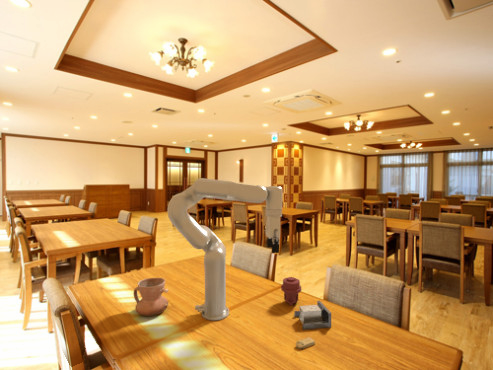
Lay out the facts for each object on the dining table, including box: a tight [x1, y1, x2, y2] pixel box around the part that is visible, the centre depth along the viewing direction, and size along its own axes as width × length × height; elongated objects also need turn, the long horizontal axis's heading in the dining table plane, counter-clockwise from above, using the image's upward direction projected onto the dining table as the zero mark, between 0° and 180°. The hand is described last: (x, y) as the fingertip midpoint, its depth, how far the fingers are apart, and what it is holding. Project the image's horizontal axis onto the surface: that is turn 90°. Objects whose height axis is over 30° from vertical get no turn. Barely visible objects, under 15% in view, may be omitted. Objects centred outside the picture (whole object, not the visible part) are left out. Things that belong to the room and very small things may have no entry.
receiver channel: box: [293, 300, 332, 331], centre depth 116 cm, size 12×11×6 cm
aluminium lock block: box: [299, 304, 322, 324], centre depth 116 cm, size 9×5×6 cm, turn 99°
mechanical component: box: [281, 276, 302, 306], centre depth 133 cm, size 12×10×10 cm
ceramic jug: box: [133, 277, 169, 317], centre depth 125 cm, size 18×14×14 cm
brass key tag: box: [295, 336, 316, 350], centre depth 100 cm, size 7×3×1 cm, turn 119°
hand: (272, 249), depth 123 cm, fingers open, 9 cm apart
